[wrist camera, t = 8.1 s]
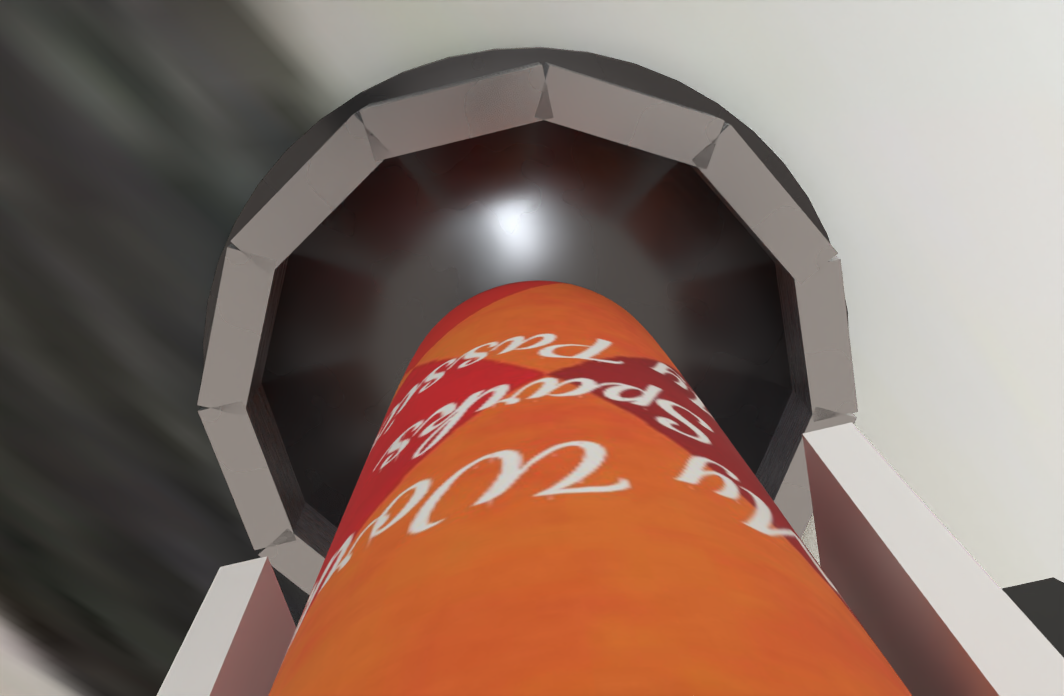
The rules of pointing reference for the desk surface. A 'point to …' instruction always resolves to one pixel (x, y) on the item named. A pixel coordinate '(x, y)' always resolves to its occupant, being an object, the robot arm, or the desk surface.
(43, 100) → the desk surface
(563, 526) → the coffee cup
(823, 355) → the ring seat
